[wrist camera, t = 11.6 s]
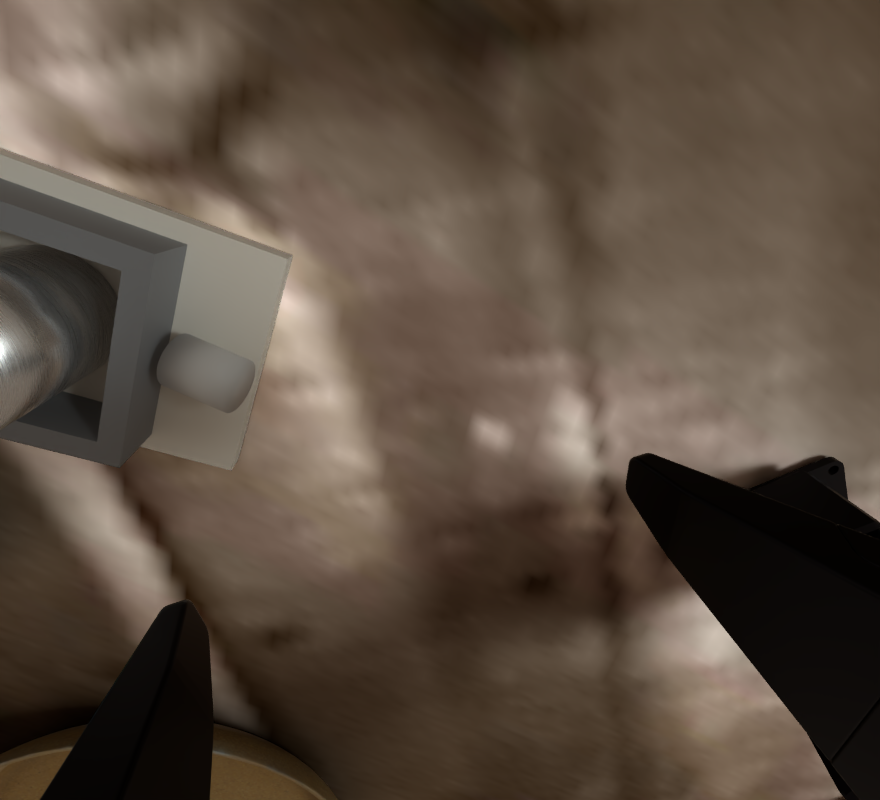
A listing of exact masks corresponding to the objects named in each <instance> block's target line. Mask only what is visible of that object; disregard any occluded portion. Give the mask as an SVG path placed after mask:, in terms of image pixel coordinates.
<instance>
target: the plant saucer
mask: <svg viewBox="0 0 880 800" xmlns="http://www.w3.org/2000/svg"><path fill="white" fill-rule="evenodd" d="M87 725H88V724H86V725H82V726H77V727H73V728H68V729H65V730H61V731H58V732H55V733H51V734H48V735H46V736H43V737H40V738H37V739H34V740H32V741H29V742H27V743H24V744H22V745H19V746H17V747H15V748H13V749H11V750H9V751H6V752H4V753H2V754H0V800H40V798H41V797H42V795H43V794H44V792H45V791H46V789H47V787H48V786H49V784H50V783H51V781H52V780H53V778H54V776H55V775H56V773H57V772H58V770H59V769H60V767H61V766H62V764H63V762H64V761H65V759H66V758H67V756H68V755H69V753H70V751H71V750H72V748H73V747H74V745H75V744H76V742H77V741H78V739H79V737H80V736H81V734H82V733H83V731H84V730H85V728H86V726H87ZM210 800H338V799H337V798H336V796H335V795H334V793H333V792H332V791H331V789H330V788H329V787H328V786H327V784H326V783H325V782H324V781H323V780H322V779H321V778H320V777H319V776H318V775H317V774H316V773H315V772H314V771H313V770H312V769H311V768H310V767H308V766H307V765H306V764H305V763H303V762H302V761H301V760H299V759H298V758H296V757H295V756H294V755H292V754H290V753H289V752H287V751H285V750H284V749H282V748H280V747H278V746H277V745H275V744H273V743H271V742H269V741H267V740H264V739H262V738H260V737H258V736H255V735H253V734H250V733H247V732H244V731H241V730H238V729H234V728H231V727H227V726H223V725H219V724H214V732H213V754H212V771H211V788H210Z"/></svg>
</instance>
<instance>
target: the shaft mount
mask: <svg viewBox="0 0 880 800" xmlns="http://www.w3.org/2000/svg"><path fill="white" fill-rule="evenodd" d="M25 245H45V246H49V247H52V248H55V249H58V250H61V251H64V252H67V253H70V254H73V255H76V256H78V257H80V258H81V259H83V260H84V261H86V262H87V263H89V264H90V265H91V266H93V267H94V268H95V269H96V270H97V271H98V272H99V273H100V274H101V275H102V276H103V277H104V278H105V279H106V280H107V281H108V282H109V284H110V285H111V286H112V288H113V289H114V291H115V293H116V294H117V296H118V299H117V306H116V313H115V320H114V327H113V334H112V341H111V348H110V355H109V362H108V363H107V364H105V365H104V366H102V367H100V368H99V369H97V370H96V371H94V372H92V373H91V374H89V375H88V376H86V377H84V378H83V379H81V380H80V381H78V382H76V383H75V384H73V385H72V386H70V387H68V388H67V389H65V390H64V391H62V392H60V393H59V394H57V395H56V396H54V397H52V398H51V399H49V400H48V401H46V402H44V403H43V404H41V405H40V406H38V407H36V408H35V409H33V410H32V411H30V412H28V413H27V414H25V415H24V416H22V417H20V418H19V419H17V420H16V421H14V422H12V423H11V424H9V425H8V426H6V427H4V428H3V429H1V430H0V438H2V439H6V440H10V441H14V442H18V443H22V444H26V445H30V446H34V447H38V448H42V449H46V450H50V451H54V452H58V453H62V454H66V455H70V456H74V457H78V458H82V459H86V460H90V461H94V462H98V463H101V464H105V465H109V466H113V467H117V468H120V467H121V466H122V465H123V464H124V463H125V461H126V460H127V459H128V458H129V457H130V456H131V455H132V454H133V453H134V452H135V451H136V450H137V449H138V448H139V447H143V448H147V449H151V450H154V451H158V452H162V453H166V454H170V455H173V456H177V457H181V458H185V459H189V460H192V461H196V462H200V463H204V464H208V465H211V466H215V467H219V468H223V469H227V470H231V471H232V469H233V467H234V466H235V464H236V462H237V460H238V458H239V455H240V451H241V447H242V444H243V440H244V436H245V432H246V429H247V425H248V421H249V417H250V414H251V410H252V406H253V402H254V399H255V395H256V391H257V387H258V384H259V380H260V376H261V372H262V369H263V365H264V361H265V358H266V354H267V350H268V346H269V343H270V339H271V335H272V331H273V328H274V324H275V320H276V316H277V313H278V309H279V305H280V301H281V298H282V294H283V290H284V286H285V283H286V279H287V275H288V271H289V268H290V264H291V260H292V256H293V255H291V254H288V253H285V252H283V251H280V250H277V249H275V248H272V247H269V246H266V245H264V244H261V243H258V242H256V241H253V240H250V239H247V238H245V237H242V236H239V235H236V234H234V233H231V232H228V231H226V230H223V229H220V228H217V227H215V226H212V225H209V224H207V223H204V222H201V221H198V220H196V219H193V218H190V217H187V216H185V215H182V214H179V213H177V212H174V211H171V210H168V209H166V208H163V207H160V206H157V205H155V204H152V203H149V202H147V201H144V200H141V199H138V198H136V197H133V196H130V195H128V194H125V193H122V192H119V191H117V190H114V189H111V188H108V187H106V186H103V185H100V184H98V183H95V182H92V181H89V180H87V179H84V178H81V177H79V176H76V175H73V174H70V173H68V172H65V171H62V170H59V169H57V168H54V167H51V166H49V165H46V164H43V163H40V162H38V161H35V160H32V159H30V158H27V157H24V156H21V155H19V154H16V153H13V152H10V151H8V150H5V149H2V148H0V250H1V249H7V248H12V247H18V246H25Z"/></svg>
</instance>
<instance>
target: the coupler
mask: <svg viewBox="0 0 880 800" xmlns="http://www.w3.org/2000/svg"><path fill="white" fill-rule="evenodd" d="M117 299H118V296H117V294H116V293H115V291H114V289H113V288H112V286H111V285H110V284H109V282H108V281H107V280H106V279H105V278H104V277H103V276H102V275H101V274H100V273H99V272H98V271H97V270H96V269H95V268H94V267H93V266H91V265H90V264H89V263H87V262H86V261H84V260H83V259H81V258H80V257H78V256H76V255H73V254H70V253H67V252H64V251H61V250H58V249H55V248H52V247H49V246H45V245H25V246H18V247H12V248H7V249H1V250H0V430H1V429H3V428H4V427H6V426H8V425H9V424H11V423H12V422H14V421H16V420H17V419H19V418H20V417H22V416H24V415H25V414H27V413H28V412H30V411H32V410H33V409H35V408H36V407H38V406H40V405H41V404H43V403H44V402H46V401H48V400H49V399H51V398H52V397H54V396H56V395H57V394H59V393H60V392H62V391H64V390H65V389H67V388H68V387H70V386H72V385H73V384H75V383H76V382H78V381H80V380H81V379H83V378H84V377H86V376H88V375H89V374H91V373H92V372H94V371H96V370H97V369H99V368H100V367H102V366H104V365H105V364H107V363H108V362H109V355H110V348H111V341H112V334H113V327H114V320H115V313H116V306H117Z"/></svg>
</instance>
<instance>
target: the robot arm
mask: <svg viewBox="0 0 880 800" xmlns="http://www.w3.org/2000/svg"><path fill="white" fill-rule="evenodd" d="M626 491H627V494H628V496H629V498H630V500H631V501H632V503H633V504H634V506H635V507H636V509H637V510H638V512H639V514H640V515H641V517H642V518H643V520H644V521H645V523H646V524H647V526H648V528H649V529H650V531H651V532H652V534H653V535H654V537H655V539H656V540H657V542H658V543H659V545H660V546H661V548H662V549H663V551H664V552H665V554H666V555H667V556H668V558H669V559H670V560H671V562H672V563H673V564H674V566H675V567H676V568H677V569H678V571H679V572H680V573H681V574H682V576H683V577H684V578H685V579H686V581H687V582H688V583H689V584H690V586H691V587H692V588H693V590H694V591H695V592H696V593H697V595H698V596H699V597H700V598H701V600H702V601H703V602H704V603H705V605H706V606H707V607H708V609H709V610H710V611H711V612H712V614H713V615H714V616H715V617H716V619H717V620H718V621H719V622H720V624H721V625H722V626H723V627H724V629H725V630H726V631H727V633H728V634H729V635H730V636H731V638H732V639H733V640H734V641H735V643H736V644H737V645H738V646H739V648H740V649H741V650H742V651H743V653H744V654H745V655H746V657H747V658H748V659H749V660H750V662H751V663H752V664H753V665H754V667H755V668H756V669H757V670H758V672H759V673H760V674H761V675H762V677H763V678H764V679H765V681H766V682H767V683H768V684H769V686H770V687H771V688H772V689H773V691H774V692H775V693H776V694H777V696H778V697H779V698H780V699H781V701H782V702H783V703H784V705H785V706H786V707H787V708H788V710H789V711H790V712H791V713H792V715H793V716H794V717H795V718H796V720H797V721H798V722H799V723H800V725H801V726H802V727H803V729H804V730H805V731H806V732H807V734H808V736H809V738H810V739H811V741H812V743H813V745H814V747H815V748H816V750H817V752H818V754H819V756H820V758H821V759H822V761H823V763H824V765H825V767H826V768H827V770H828V772H829V774H830V776H831V777H832V779H833V781H834V783H835V785H836V786H837V788H838V790H839V791H840V793H841V794H842V795H843V797H844V798H845V799H846V800H880V523H879V521H877V520H876V519H874V518H873V517H872V516H870V515H869V514H867V513H866V512H864V511H863V510H862V509H860V508H859V507H857V506H856V505H854V504H853V503H851V502H850V501H849V500H848V497H847V488H846V480H845V472H844V465H843V463H842V462H840V461H838V460H837V459H835V458H834V457H827V458H824V459H822V460H819V461H817V462H814V463H812V464H810V465H807V466H805V467H802V468H800V469H798V470H795V471H793V472H790V473H788V474H785V475H783V476H781V477H778V478H776V479H773V480H771V481H769V482H766V483H764V484H761V485H759V486H756V487H754V488H752V489H749V490H747V489H744V488H741V487H739V486H736V485H733V484H731V483H728V482H725V481H723V480H720V479H718V478H715V477H712V476H710V475H707V474H704V473H702V472H699V471H696V470H694V469H691V468H688V467H686V466H683V465H680V464H678V463H675V462H673V461H670V460H667V459H665V458H662V457H659V456H657V455H654V454H651V453H645V454H642V455H639V456H636V457H633V458H632V459H631V460H630V462H629V466H628V473H627V479H626ZM213 732H214V719H213V699H212V681H211V664H210V646H209V635H208V630H207V627H206V625H205V623H204V621H203V620H202V618H201V616H200V615H199V613H198V611H197V610H196V608H195V606H194V605H193V603H192V602H191V601H190V600H182V601H179V602H176V603H173V604H170V605H167V606H165V607H164V608H163V609H162V610H161V611H160V612H159V614H158V615H157V617H156V619H155V620H154V622H153V623H152V625H151V626H150V628H149V630H148V631H147V633H146V634H145V636H144V637H143V639H142V640H141V642H140V644H139V645H138V647H137V648H136V650H135V651H134V653H133V655H132V656H131V658H130V659H129V661H128V662H127V664H126V666H125V667H124V669H123V670H122V672H121V673H120V675H119V676H118V678H117V680H116V681H115V683H114V684H113V686H112V687H111V689H110V691H109V692H108V694H107V695H106V697H105V698H104V700H103V701H102V703H101V705H100V706H99V708H98V709H97V711H96V712H95V714H94V716H93V717H92V719H91V720H90V722H89V723H88V725H87V726H86V728H85V730H84V731H83V733H82V734H81V736H80V737H79V739H78V741H77V742H76V744H75V745H74V747H73V748H72V750H71V751H70V753H69V755H68V756H67V758H66V759H65V761H64V762H63V764H62V766H61V767H60V769H59V770H58V772H57V773H56V775H55V776H54V778H53V780H52V781H51V783H50V784H49V786H48V787H47V789H46V791H45V792H44V794H43V795H42V797H41V798H40V800H210V788H211V771H212V754H213Z"/></svg>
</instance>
